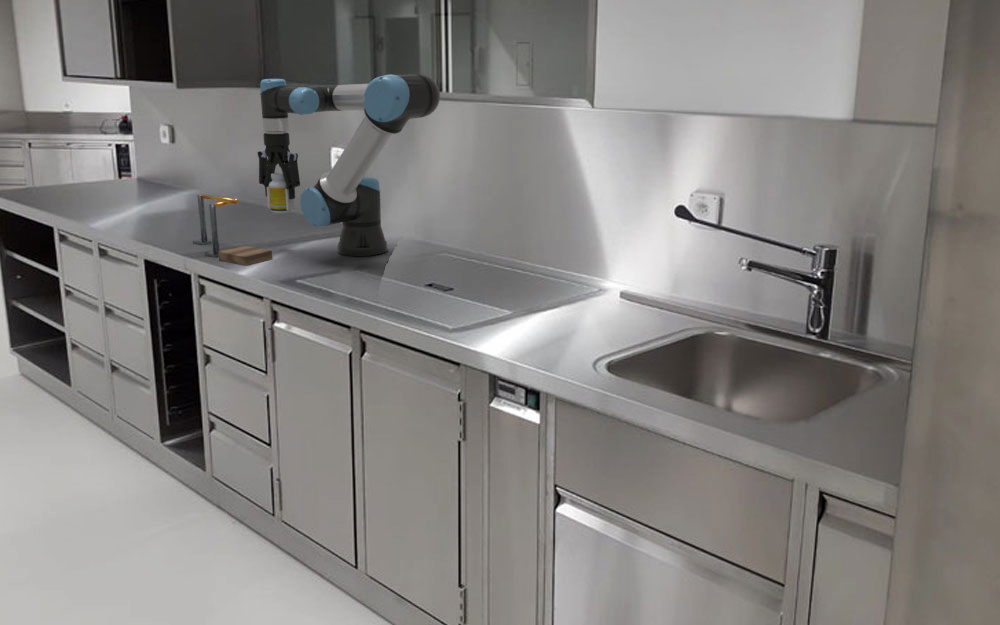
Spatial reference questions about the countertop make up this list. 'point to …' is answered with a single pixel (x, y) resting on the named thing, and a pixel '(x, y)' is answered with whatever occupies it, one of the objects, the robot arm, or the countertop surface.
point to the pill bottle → (277, 193)
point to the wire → (213, 221)
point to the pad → (245, 255)
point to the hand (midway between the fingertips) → (281, 208)
